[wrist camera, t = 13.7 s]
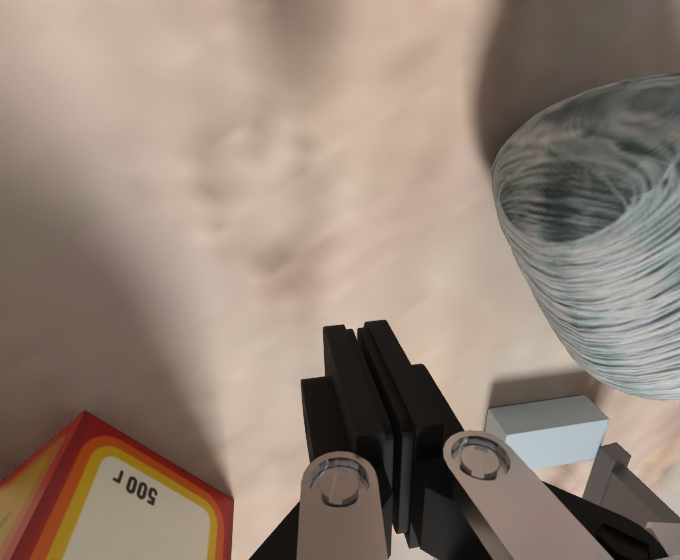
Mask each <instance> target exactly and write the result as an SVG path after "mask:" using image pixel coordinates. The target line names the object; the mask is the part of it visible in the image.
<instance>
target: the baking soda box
mask: <svg viewBox="0 0 680 560" xmlns="http://www.w3.org/2000/svg"><path fill="white" fill-rule="evenodd" d="M233 511H234V500H233V499H232V498H230V497H228V496H227V495H225V494H223V493H222V492H220V491H218V490H217V489H215V488H213V487H212V486H210V485H208V484H207V483H205V482H203V481H202V480H200V479H198V478H197V477H195V476H193V475H192V474H190V473H188V472H187V471H185V470H183V469H182V468H180V467H178V466H177V465H175V464H173V463H172V462H170V461H168V460H167V459H165V458H163V457H162V456H160V455H158V454H157V453H155V452H153V451H152V450H150V449H148V448H147V447H145V446H143V445H142V444H140V443H138V442H137V441H135V440H133V439H132V438H130V437H128V436H127V435H125V434H123V433H122V432H120V431H118V430H116V429H115V428H113V427H111V426H110V425H108V424H106V423H105V422H103V421H101V420H100V419H98V418H96V417H95V416H93V415H91V414H90V413H88V412H86V411H84V412H83V413H82V414H80V415H79V416H78V417H77V418H76V419H75V420H73V421H72V422H71V423H70V424H69V425H68V426H66V427H65V428H64V429H63V430H62V431H61V432H59V433H58V434H57V435H56V436H55V437H54V438H52V439H51V440H50V441H49V442H48V443H47V444H45V445H44V446H43V447H42V448H41V449H39V450H38V451H37V452H36V453H35V454H34V455H32V456H31V457H30V458H29V459H28V460H27V461H25V462H24V463H23V464H22V465H21V466H20V467H18V468H17V469H16V470H15V471H14V472H13V473H11V474H10V475H9V476H8V477H7V478H6V479H4V480H3V481H2V482H1V483H0V560H231V550H232V530H233Z"/></svg>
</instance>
